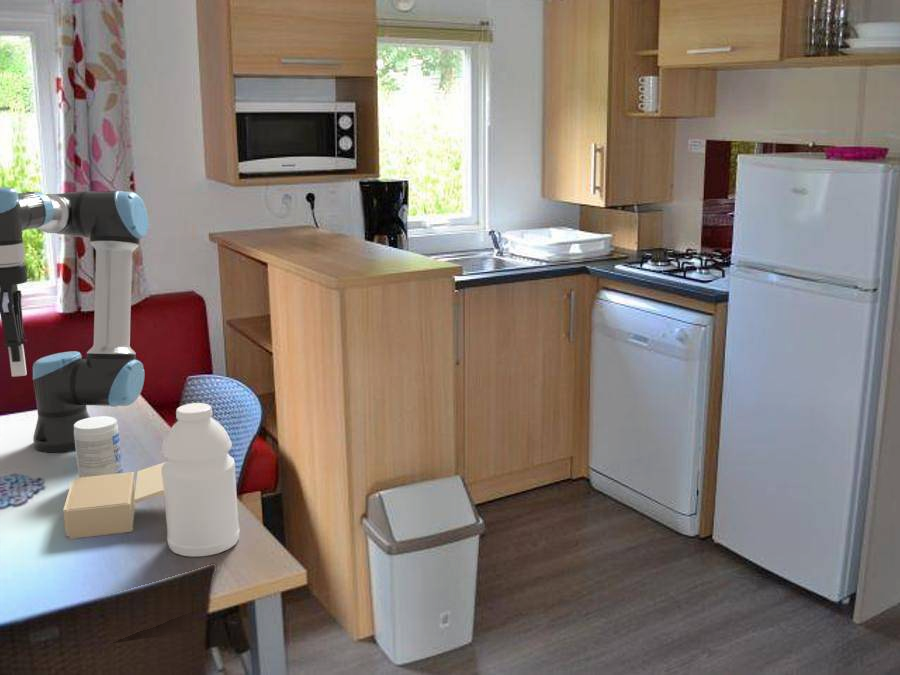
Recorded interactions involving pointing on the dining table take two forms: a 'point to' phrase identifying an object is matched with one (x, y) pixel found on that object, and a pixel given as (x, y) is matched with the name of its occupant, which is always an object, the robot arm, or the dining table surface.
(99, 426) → the supplement tub
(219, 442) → the bottle
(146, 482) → the flap
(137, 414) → the dining table surface
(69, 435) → the robot arm
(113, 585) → the dining table surface
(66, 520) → the carton
